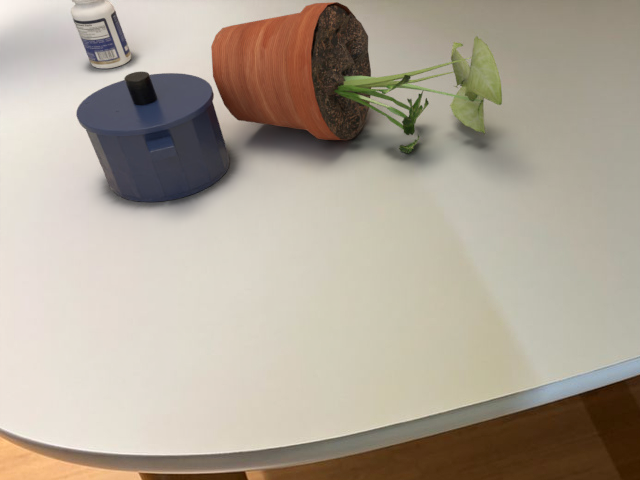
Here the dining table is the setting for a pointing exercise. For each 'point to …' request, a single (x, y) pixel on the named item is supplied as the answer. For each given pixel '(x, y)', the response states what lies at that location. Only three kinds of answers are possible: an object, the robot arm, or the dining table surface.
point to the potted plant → (331, 75)
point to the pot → (164, 160)
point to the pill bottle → (100, 33)
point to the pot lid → (145, 104)
